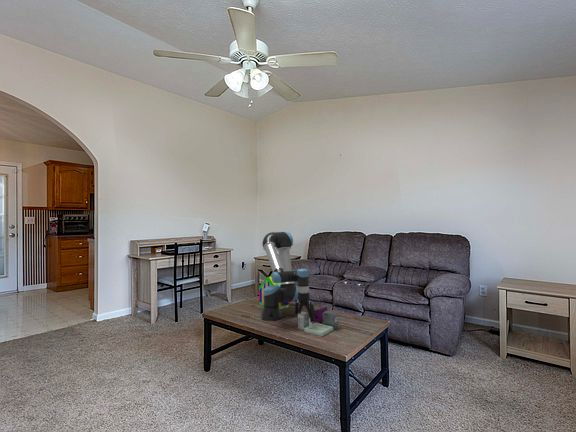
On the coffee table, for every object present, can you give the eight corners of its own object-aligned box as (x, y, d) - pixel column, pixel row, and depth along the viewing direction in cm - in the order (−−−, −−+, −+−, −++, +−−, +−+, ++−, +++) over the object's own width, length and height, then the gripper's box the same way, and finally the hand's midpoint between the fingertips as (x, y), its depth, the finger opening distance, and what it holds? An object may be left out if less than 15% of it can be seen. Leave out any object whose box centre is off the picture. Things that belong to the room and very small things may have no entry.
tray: (304, 331, 214) (304, 328, 214) (316, 326, 224) (316, 322, 224) (321, 336, 205) (321, 332, 205) (333, 330, 216) (333, 326, 216)
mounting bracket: (305, 327, 241) (322, 321, 229) (301, 315, 244) (318, 309, 232) (314, 324, 247) (330, 318, 236) (310, 312, 250) (326, 306, 238)
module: (297, 328, 221) (297, 313, 221) (302, 326, 225) (302, 311, 225) (304, 329, 218) (303, 314, 218) (308, 327, 222) (308, 312, 222)
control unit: (322, 327, 223) (322, 312, 223) (326, 324, 227) (326, 310, 227) (334, 330, 217) (334, 314, 217) (338, 327, 221) (338, 313, 221)
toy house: (289, 306, 274) (289, 276, 273) (277, 310, 264) (276, 279, 264) (271, 301, 292) (271, 273, 291) (259, 304, 282) (258, 275, 282)
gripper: (287, 291, 225) (289, 324, 225) (313, 294, 212) (315, 330, 211) (294, 289, 231) (296, 322, 230) (319, 292, 217) (321, 326, 217)
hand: (305, 325), depth 221 cm, fingers open, 9 cm apart
